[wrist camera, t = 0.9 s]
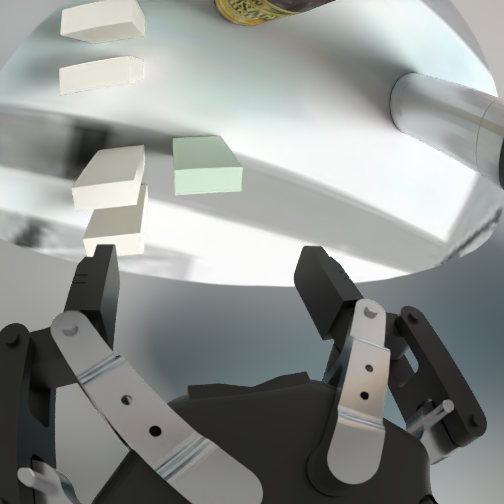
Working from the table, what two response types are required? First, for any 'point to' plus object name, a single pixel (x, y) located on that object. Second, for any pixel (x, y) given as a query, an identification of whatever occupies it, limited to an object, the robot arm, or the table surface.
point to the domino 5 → (205, 166)
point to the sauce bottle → (263, 9)
